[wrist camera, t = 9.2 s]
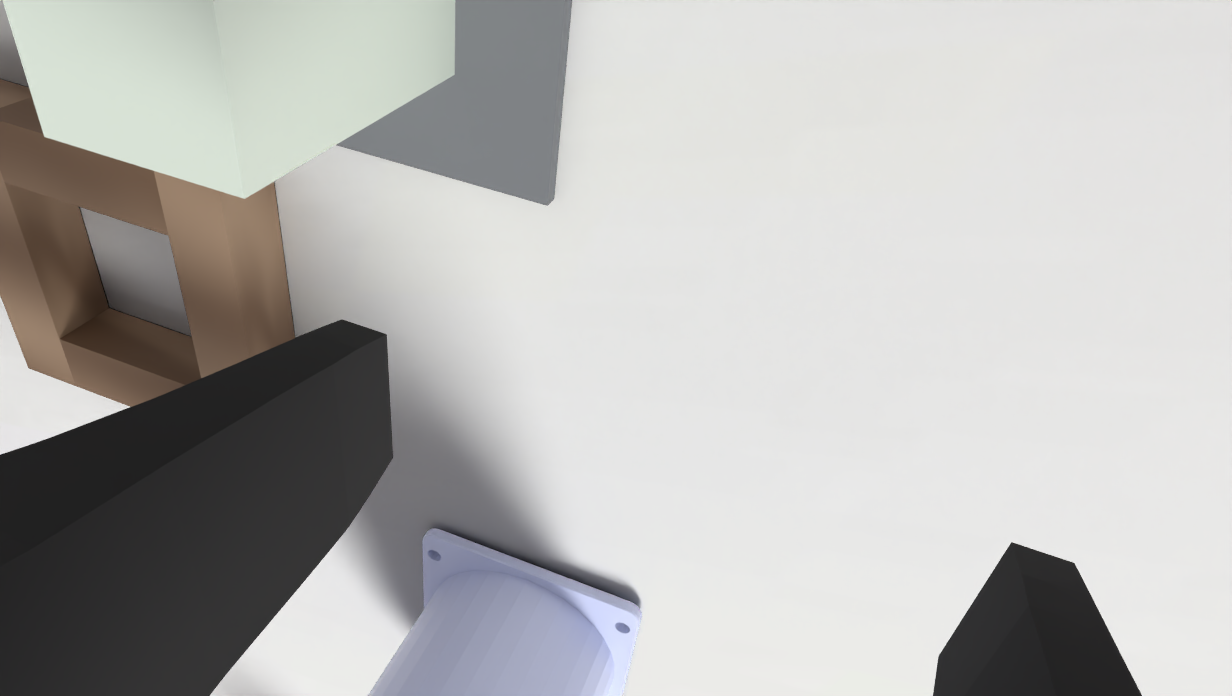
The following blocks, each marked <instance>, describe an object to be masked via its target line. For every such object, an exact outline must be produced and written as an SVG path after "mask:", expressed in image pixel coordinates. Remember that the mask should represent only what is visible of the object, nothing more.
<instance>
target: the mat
mask: <svg viewBox="0 0 1232 696" xmlns="http://www.w3.org/2000/svg"><path fill="white" fill-rule="evenodd" d="M571 6H572V0H455V75H453V76H452V77H450V78H448V79H446V80H445V81H443V82H441V83H440V84H438V85H436V86H435V87H433V88H431V89H430V90H428V91H426V92H425V93H423V94H421V95H419V96H418V97H416V98H414V99H413V100H411V101H409V102H408V103H406V104H404V105H403V106H401V107H399V108H397V109H396V110H394V111H392V112H391V113H389V114H387V115H386V116H384V117H382V118H381V119H379V120H377V121H375V122H374V123H372V124H370V125H369V126H367V127H365V128H364V129H362V130H360V131H359V132H357V133H355V134H354V135H352V136H350V137H348V138H347V139H345V140H343V141H342V142H340V143H338V144H337V145H338V146H341V147H345V148H348V149H352V150H355V151H359V152H362V153H366V154H369V155H373V156H376V157H380V158H383V159H387V160H390V161H394V162H397V163H401V164H404V165H408V166H411V167H414V168H418V169H421V170H425V171H428V172H432V173H435V174H439V175H442V176H446V177H449V178H453V179H456V180H460V181H463V182H467V183H470V184H474V185H477V186H481V187H484V188H488V189H491V190H495V191H498V192H502V193H505V194H509V195H512V196H516V197H519V198H523V199H526V200H530V201H533V202H537V203H540V204H543V205H547V206H548V205H549V204H550V203H551V202H552V201H553V199H554V194H555V183H556V172H557V161H558V149H559V138H560V127H561V116H562V105H563V94H564V83H565V72H566V61H567V50H568V39H569V28H570V17H571Z"/></svg>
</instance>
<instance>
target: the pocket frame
mask: <svg viewBox="0 0 1232 696" xmlns="http://www.w3.org/2000/svg"><path fill="white" fill-rule="evenodd" d="M79 207H82V208H85V209H88V210H91V211H94V212H97V213H100V214H103V215H107V216H110V217H113V218H116V219H119V220H122V221H125V222H128V223H131V224H134V225H137V226H140V227H143V228H146V229H150V230H153V231H156V232H159V233H162V234H165V235H168V236H169V240H170V244H171V248H172V253H173V257H174V261H175V266H176V270H177V275H178V279H179V283H180V288H181V292H182V296H183V301H184V305H185V309H186V314H187V318H188V323H189V327H190V331H191V336H192V337H190V336H187V335H184V334H181V333H178V332H176V331H173V330H170V329H167V328H164V327H161V326H158V325H156V324H153V323H150V322H147V321H144V320H141V319H139V318H136V317H133V316H130V315H127V314H124V313H121V312H119V311H116V310H113V309H110V308H109V307H108V303H107V300H106V297H105V293H104V290H103V286H102V283H101V280H100V276H99V273H98V270H97V266H96V263H95V259H94V256H93V253H92V249H91V246H90V243H89V239H88V236H87V233H86V229H85V226H84V222H83V219H82V216H81V212H80V209H79ZM0 296H1V298H2V301H3V304H4V306H5V309H6V311H7V314H8V316H9V319H10V322H11V324H12V327H13V329H14V332H15V334H16V337H17V340H18V342H19V345H20V347H21V350H22V352H23V355H24V358H25V360H26V363H27V365H28V368H29V369H32V370H35V371H37V372H40V373H43V374H45V375H48V376H51V377H53V378H56V379H59V380H61V381H64V382H67V383H69V384H72V385H75V386H77V387H80V388H83V389H85V390H88V391H90V392H93V393H96V394H98V395H101V396H104V397H106V398H109V399H112V400H114V401H117V402H120V403H122V404H125V405H128V406H130V407H132V406H135V405H138V404H140V403H143V402H145V401H148V400H151V399H153V398H156V397H158V396H161V395H163V394H165V393H168V392H170V391H173V390H175V389H177V388H180V387H182V386H184V385H187V384H189V383H191V382H194V381H196V380H199V379H201V378H203V377H206V376H208V375H210V374H213V373H215V372H217V371H220V370H222V369H225V368H227V367H229V366H232V365H234V364H236V363H239V362H241V361H243V360H246V359H248V358H250V357H252V356H255V355H257V354H259V353H262V352H264V351H266V350H269V349H271V348H273V347H276V346H278V345H280V344H283V343H285V342H287V341H290V340H292V339H294V338H295V335H294V327H293V320H292V312H291V305H290V298H289V290H288V283H287V275H286V268H285V260H284V253H283V246H282V238H281V231H280V223H279V216H278V209H277V201H276V194H275V186H274V182H272V183H271V184H269V185H267V186H266V187H264V188H262V189H261V190H259V191H257V192H255V193H254V194H252V195H250V196H249V197H247V198H245V199H243V198H240V197H237V196H234V195H230V194H227V193H224V192H221V191H218V190H214V189H211V188H208V187H205V186H201V185H198V184H195V183H192V182H188V181H185V180H182V179H179V178H176V177H172V176H169V175H166V174H163V173H159V172H156V171H153V170H150V169H147V168H143V167H140V166H137V165H134V164H130V163H127V162H124V161H121V160H117V159H114V158H111V157H108V156H105V155H101V154H98V153H95V152H92V151H88V150H85V149H82V148H79V147H75V146H72V145H69V144H66V143H63V142H59V141H56V140H53V139H50V138H46V137H44V134H43V131H42V128H41V125H40V121H39V118H38V115H37V112H36V108H35V105H34V102H33V99H32V95H31V92H30V89H29V88H28V87H25V86H22V85H18V84H15V83H12V82H8V81H5V80H1V79H0Z"/></svg>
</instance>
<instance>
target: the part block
mask: <svg viewBox="0 0 1232 696" xmlns="http://www.w3.org/2000/svg"><path fill="white" fill-rule="evenodd" d="M2 1H3V4H4V7H5V11H6V14H7V17H8V20H9V24H10V27H11V30H12V33H13V37H14V40H15V43H16V46H17V50H18V53H19V56H20V59H21V63H22V66H23V69H24V72H25V76H26V79H27V82H28V85H29V89H30V92H31V95H32V99H33V102H34V105H35V108H36V112H37V115H38V118H39V121H40V125H41V128H42V131H43V134H44V137H46V138H50V139H53V140H56V141H59V142H63V143H66V144H69V145H72V146H75V147H79V148H82V149H85V150H88V151H92V152H95V153H98V154H101V155H105V156H108V157H111V158H114V159H117V160H121V161H124V162H127V163H130V164H134V165H137V166H140V167H143V168H147V169H150V170H153V171H156V172H159V173H163V174H166V175H169V176H172V177H176V178H179V179H182V180H185V181H188V182H192V183H195V184H198V185H201V186H205V187H208V188H211V189H214V190H218V191H221V192H224V193H227V194H230V195H234V196H237V197H240V198H243V199H245V198H247V197H249V196H250V195H252V194H254V193H255V192H257V191H259V190H261V189H262V188H264V187H266V186H267V185H269V184H271V183H272V182H274V181H276V180H277V179H279V178H281V177H283V176H284V175H286V174H288V173H289V172H291V171H293V170H294V169H296V168H298V167H299V166H301V165H303V164H304V163H306V162H308V161H310V160H311V159H313V158H315V157H316V156H318V155H320V154H321V153H323V152H325V151H326V150H328V149H330V148H332V147H333V146H335V145H337V144H338V143H340V142H342V141H343V140H345V139H347V138H348V137H350V136H352V135H354V134H355V133H357V132H359V131H360V130H362V129H364V128H365V127H367V126H369V125H370V124H372V123H374V122H375V121H377V120H379V119H381V118H382V117H384V116H386V115H387V114H389V113H391V112H392V111H394V110H396V109H397V108H399V107H401V106H403V105H404V104H406V103H408V102H409V101H411V100H413V99H414V98H416V97H418V96H419V95H421V94H423V93H425V92H426V91H428V90H430V89H431V88H433V87H435V86H436V85H438V84H440V83H441V82H443V81H445V80H446V79H448V78H450V77H452V76H453V75H455V0H2Z"/></svg>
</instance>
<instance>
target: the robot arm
mask: <svg viewBox="0 0 1232 696" xmlns="http://www.w3.org/2000/svg"><path fill="white" fill-rule="evenodd" d="M392 458H393V450H392V431H391V411H390V392H389V372H388V353H387V334H384V333H381V332H378V331H375V330H372V329H369V328H366V327H363V326H360V325H357V324H354V323H351V322H348V321H345V320H339V321H337V322H334V323H331V324H329V325H326V326H323V327H321V328H318V329H316V330H313V331H311V332H309V333H306V334H304V335H301V336H299V337H297V338H294V339H292V340H290V341H287V342H285V343H283V344H280V345H278V346H276V347H273V348H271V349H269V350H266V351H264V352H262V353H259V354H257V355H255V356H252V357H250V358H248V359H246V360H243V361H241V362H239V363H236V364H234V365H232V366H229V367H227V368H225V369H222V370H220V371H217V372H215V373H213V374H210V375H208V376H206V377H203V378H201V379H199V380H196V381H194V382H191V383H189V384H187V385H184V386H182V387H180V388H177V389H175V390H173V391H170V392H168V393H165V394H163V395H161V396H158V397H156V398H153V399H151V400H148V401H145V402H143V403H140V404H138V405H135V406H132V407H130V408H127V409H125V410H122V411H119V412H117V413H114V414H111V415H109V416H106V417H104V418H101V419H98V420H96V421H93V422H90V423H88V424H85V425H83V426H80V427H77V428H75V429H72V430H70V431H67V432H64V433H62V434H59V435H56V436H54V437H51V438H48V439H45V440H43V441H40V442H37V443H34V444H31V445H28V446H25V447H22V448H19V449H16V450H13V451H10V452H7V453H4V454H1V455H0V696H210V694H211V693H212V692H213V690H214V689H215V688H216V686H217V685H218V684H219V683H220V681H221V680H222V679H223V677H224V676H225V675H226V674H227V673H228V671H229V670H230V669H231V668H232V667H233V665H234V664H235V663H236V662H237V661H238V659H239V658H240V657H241V656H242V655H243V653H244V652H245V651H246V650H247V649H248V647H249V646H250V645H251V644H252V643H253V642H254V640H255V639H256V638H257V637H258V636H259V634H260V633H261V632H262V631H263V630H264V628H265V627H266V626H267V625H268V624H269V622H270V621H271V620H272V619H273V618H274V617H275V615H276V614H277V613H278V612H279V611H280V609H281V608H282V607H283V606H284V605H285V603H286V602H287V601H288V600H289V599H290V597H291V596H292V595H293V594H294V593H295V592H296V590H297V589H298V588H299V587H300V586H301V584H302V583H303V582H304V581H305V580H306V578H307V577H308V576H309V575H310V574H311V572H312V571H313V570H314V569H315V568H316V566H317V565H318V564H319V563H320V561H321V560H322V559H323V558H324V557H325V555H326V554H327V553H328V552H329V551H330V549H331V548H332V547H333V546H334V544H335V543H336V542H337V541H338V540H339V538H340V537H341V536H342V535H343V533H344V532H345V531H346V530H347V528H348V527H349V526H350V524H351V523H352V521H353V520H354V518H355V517H356V515H357V514H358V512H359V511H360V509H361V508H362V506H363V505H364V503H365V502H366V500H367V499H368V497H369V496H370V494H371V492H372V491H373V489H374V487H375V486H376V484H377V483H378V481H379V479H380V478H381V476H382V474H383V473H384V471H385V470H386V468H387V466H388V465H389V463H390V461H391V460H392ZM422 547H423V591H424V610H423V612H422V613H421V615H420V616H419V618H418V619H417V621H416V622H415V624H414V625H413V627H412V629H411V630H410V632H409V633H408V635H407V636H406V638H405V639H404V641H403V642H402V644H401V645H400V647H399V648H398V650H397V652H396V653H395V655H394V656H393V658H392V659H391V661H390V662H389V664H388V665H387V667H386V668H385V670H384V672H383V673H382V675H381V676H380V678H379V679H378V681H377V682H376V684H375V685H374V687H373V688H372V690H371V692H370V693H369V695H368V696H623V692H624V687H625V683H626V679H627V675H628V671H629V667H630V663H631V659H632V655H633V651H634V647H635V642H636V638H637V634H638V630H639V626H640V622H641V618H642V612H641V610H640V609H639V607H638V606H637V605H636V604H634V603H632V602H630V601H628V600H625V599H622V598H620V597H617V596H615V595H612V594H609V593H607V592H604V591H601V590H599V589H596V588H593V587H591V586H588V585H585V584H583V583H580V582H578V581H575V580H572V579H570V578H567V577H564V576H562V575H559V574H556V573H554V572H551V571H548V570H546V569H543V568H541V567H538V566H535V565H533V564H530V563H527V562H525V561H522V560H519V559H517V558H514V557H512V556H509V555H506V554H504V553H501V552H498V551H496V550H493V549H490V548H488V547H485V546H482V545H480V544H477V543H475V542H472V541H469V540H467V539H464V538H461V537H459V536H456V535H453V534H451V533H448V532H445V531H443V530H440V529H436V528H434V529H430V530H428V531H427V532H426V534H425V535H424V537H423V540H422ZM933 696H1142V695H1141V693H1140V691H1139V689H1138V687H1137V685H1136V683H1135V681H1134V679H1133V677H1132V675H1131V673H1130V672H1129V670H1128V668H1127V666H1126V664H1125V662H1124V660H1123V658H1122V656H1121V654H1120V652H1119V650H1118V648H1117V646H1116V644H1115V642H1114V640H1113V638H1112V636H1111V634H1110V632H1109V630H1108V628H1107V626H1106V624H1105V622H1104V620H1103V618H1102V616H1101V614H1100V612H1099V610H1098V608H1097V607H1096V605H1095V603H1094V601H1093V599H1092V597H1091V595H1090V593H1089V591H1088V589H1087V587H1086V585H1085V583H1084V581H1083V579H1082V577H1081V575H1080V573H1079V571H1078V569H1077V568H1076V566H1075V564H1074V563H1072V562H1069V561H1066V560H1063V559H1060V558H1057V557H1054V556H1051V555H1048V554H1045V553H1042V552H1039V551H1036V550H1033V549H1030V548H1027V547H1024V546H1021V545H1018V544H1015V543H1012V542H1011V544H1010V546H1009V547H1008V549H1007V550H1006V552H1005V553H1004V555H1003V556H1002V558H1001V560H1000V561H999V563H998V564H997V566H996V567H995V569H994V571H993V572H992V574H991V575H990V577H989V578H988V580H987V581H986V583H985V585H984V586H983V588H982V589H981V591H980V592H979V594H978V596H977V597H976V599H975V600H974V602H973V603H972V605H971V607H970V608H969V610H968V611H967V613H966V614H965V616H964V617H963V619H962V621H961V622H960V624H959V625H958V627H957V628H956V630H955V632H954V633H953V635H952V636H951V638H950V639H949V641H948V642H947V644H946V646H945V647H944V649H943V650H942V652H941V653H940V655H939V657H938V664H937V672H936V679H935V686H934V693H933Z"/></svg>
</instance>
